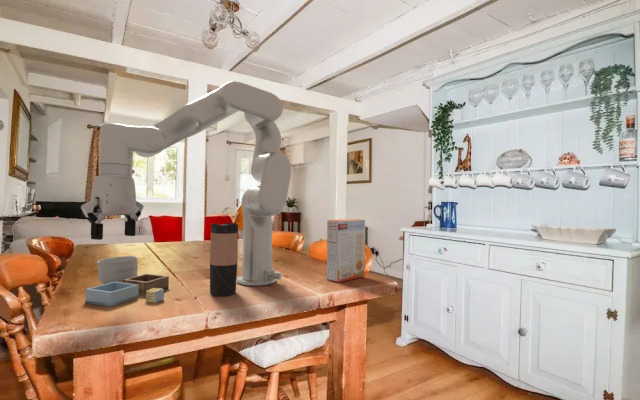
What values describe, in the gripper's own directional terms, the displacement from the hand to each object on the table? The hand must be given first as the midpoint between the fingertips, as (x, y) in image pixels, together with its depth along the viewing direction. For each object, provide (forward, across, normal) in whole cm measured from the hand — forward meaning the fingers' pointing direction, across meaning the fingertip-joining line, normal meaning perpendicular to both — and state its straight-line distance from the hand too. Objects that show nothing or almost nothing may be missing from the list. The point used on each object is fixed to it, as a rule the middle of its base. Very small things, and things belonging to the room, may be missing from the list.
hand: (114, 237), depth 89 cm
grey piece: (+17, -14, -13) cm, 25 cm away
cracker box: (+16, -50, +50) cm, 73 cm away
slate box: (+16, 0, 0) cm, 16 cm away
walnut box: (+16, -11, 0) cm, 20 cm away
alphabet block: (+17, -4, +10) cm, 20 cm away
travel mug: (+17, -17, +22) cm, 32 cm away
